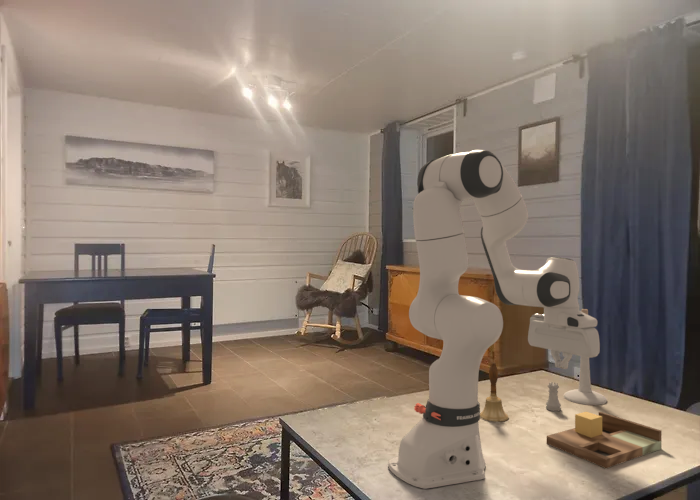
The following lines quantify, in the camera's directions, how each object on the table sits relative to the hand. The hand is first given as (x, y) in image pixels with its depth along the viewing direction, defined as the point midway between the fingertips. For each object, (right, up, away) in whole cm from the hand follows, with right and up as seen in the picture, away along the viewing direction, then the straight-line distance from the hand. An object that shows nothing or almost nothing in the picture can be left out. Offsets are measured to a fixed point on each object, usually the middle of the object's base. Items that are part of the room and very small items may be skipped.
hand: (561, 367), depth 132 cm
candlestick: (+20, -17, +28) cm, 39 cm away
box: (+6, -17, -11) cm, 21 cm away
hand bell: (-15, -17, +11) cm, 26 cm away
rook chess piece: (+5, -17, +18) cm, 25 cm away
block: (+4, -15, -7) cm, 17 cm away
